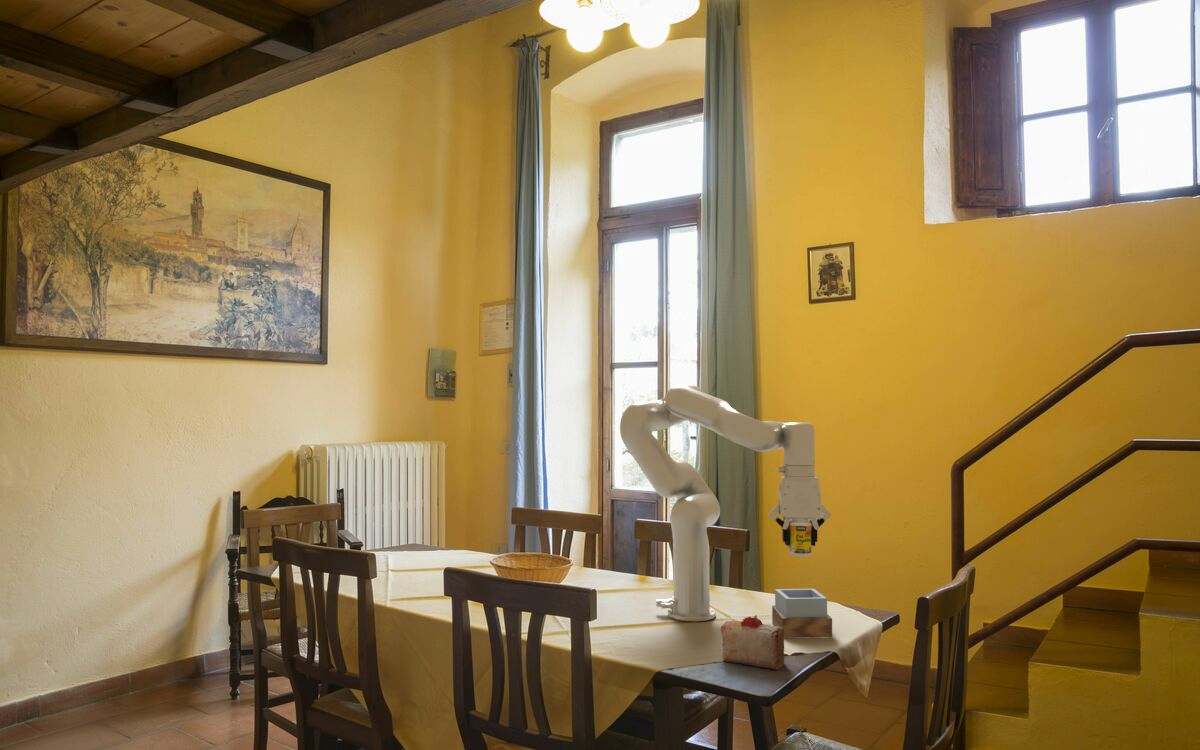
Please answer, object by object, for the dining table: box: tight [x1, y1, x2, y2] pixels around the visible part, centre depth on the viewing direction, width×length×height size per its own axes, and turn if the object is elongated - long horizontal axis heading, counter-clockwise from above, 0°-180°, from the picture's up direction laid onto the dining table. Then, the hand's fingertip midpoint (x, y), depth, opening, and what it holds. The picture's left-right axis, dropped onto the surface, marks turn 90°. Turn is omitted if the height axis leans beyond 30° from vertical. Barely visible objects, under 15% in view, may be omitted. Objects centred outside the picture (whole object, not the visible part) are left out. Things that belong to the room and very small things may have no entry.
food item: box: [720, 614, 785, 671], centre depth 178 cm, size 14×8×10 cm, turn 60°
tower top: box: [774, 588, 828, 618], centre depth 202 cm, size 10×10×4 cm
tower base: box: [771, 605, 833, 638], centre depth 202 cm, size 12×12×5 cm
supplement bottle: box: [787, 519, 812, 557], centre depth 202 cm, size 6×6×10 cm
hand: (799, 544), depth 202 cm, fingers closed on supplement bottle, 5 cm apart
